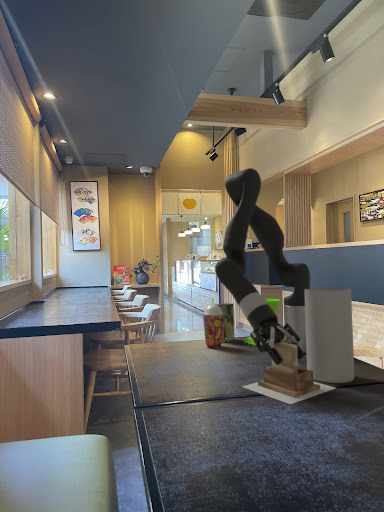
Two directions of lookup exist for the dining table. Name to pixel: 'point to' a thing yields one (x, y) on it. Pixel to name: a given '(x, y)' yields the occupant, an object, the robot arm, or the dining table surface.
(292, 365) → the beech block
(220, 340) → the smoothie
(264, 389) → the mat
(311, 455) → the dining table surface
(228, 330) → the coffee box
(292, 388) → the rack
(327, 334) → the cylinder vase
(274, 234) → the robot arm
